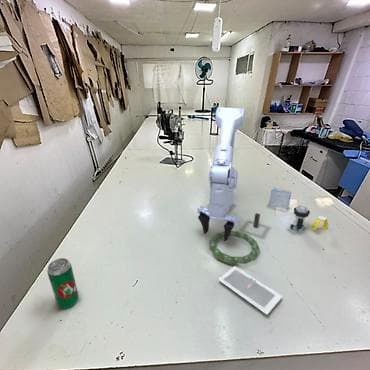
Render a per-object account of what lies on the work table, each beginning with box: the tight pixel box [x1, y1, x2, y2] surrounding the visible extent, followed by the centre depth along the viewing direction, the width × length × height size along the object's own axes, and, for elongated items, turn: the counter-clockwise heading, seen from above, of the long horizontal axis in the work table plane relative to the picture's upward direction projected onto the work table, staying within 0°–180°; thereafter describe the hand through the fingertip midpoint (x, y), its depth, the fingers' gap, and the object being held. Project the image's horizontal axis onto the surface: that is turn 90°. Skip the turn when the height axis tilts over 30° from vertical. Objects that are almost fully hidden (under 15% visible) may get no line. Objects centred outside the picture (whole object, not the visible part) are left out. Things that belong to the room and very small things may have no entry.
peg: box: [252, 212, 261, 229], centre depth 89 cm, size 8×8×6 cm
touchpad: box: [217, 265, 283, 315], centre depth 63 cm, size 8×15×2 cm, turn 43°
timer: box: [312, 215, 329, 232], centre depth 88 cm, size 6×3×6 cm, turn 110°
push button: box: [289, 205, 311, 232], centre depth 87 cm, size 7×5×10 cm
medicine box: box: [268, 186, 292, 210], centre depth 105 cm, size 8×4×9 cm, turn 58°
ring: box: [208, 230, 261, 266], centre depth 79 cm, size 16×16×2 cm
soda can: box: [46, 257, 80, 309], centre depth 57 cm, size 5×5×12 cm
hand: (215, 235), depth 82 cm, fingers open, 7 cm apart
